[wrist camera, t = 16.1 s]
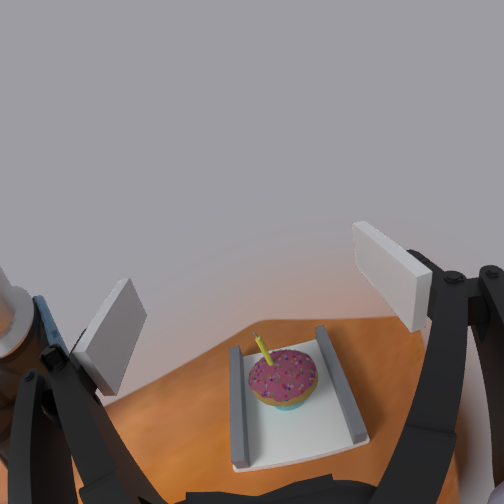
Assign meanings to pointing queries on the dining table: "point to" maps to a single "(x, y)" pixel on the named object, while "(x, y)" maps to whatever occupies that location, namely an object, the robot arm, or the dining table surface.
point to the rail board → (293, 414)
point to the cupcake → (283, 377)
